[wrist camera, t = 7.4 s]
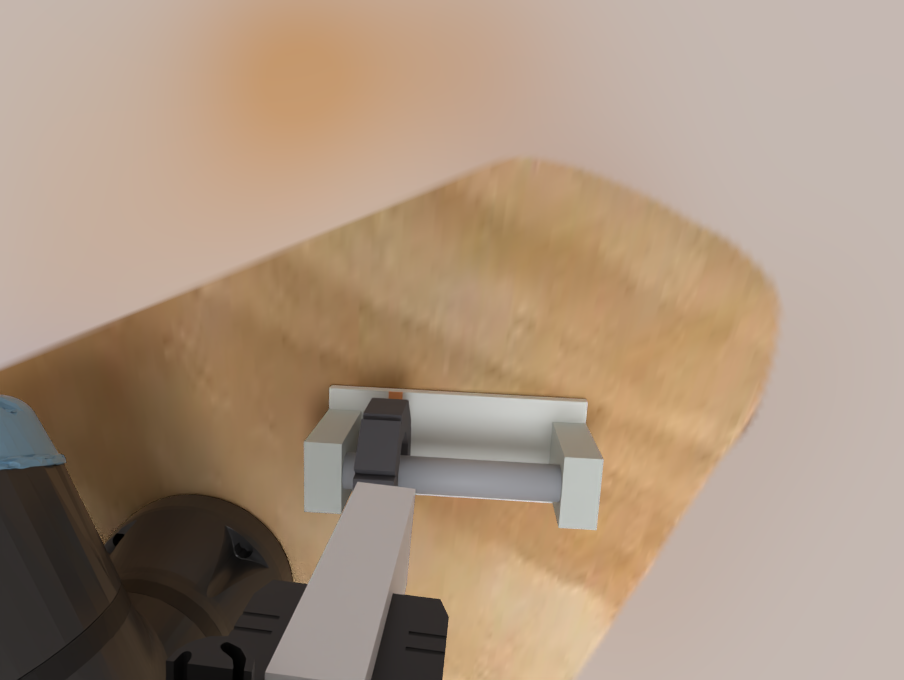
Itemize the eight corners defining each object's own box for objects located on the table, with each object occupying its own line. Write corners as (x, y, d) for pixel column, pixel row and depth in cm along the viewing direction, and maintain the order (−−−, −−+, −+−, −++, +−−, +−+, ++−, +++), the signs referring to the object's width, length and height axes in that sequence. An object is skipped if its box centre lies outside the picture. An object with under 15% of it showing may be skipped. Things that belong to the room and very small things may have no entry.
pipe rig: (331, 484, 47) (304, 534, 40) (331, 385, 46) (303, 417, 38) (576, 499, 47) (594, 552, 39) (585, 399, 45) (606, 435, 38)
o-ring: (376, 503, 46) (351, 574, 37) (379, 385, 44) (353, 430, 35) (408, 505, 46) (391, 577, 37) (412, 387, 44) (395, 432, 35)
